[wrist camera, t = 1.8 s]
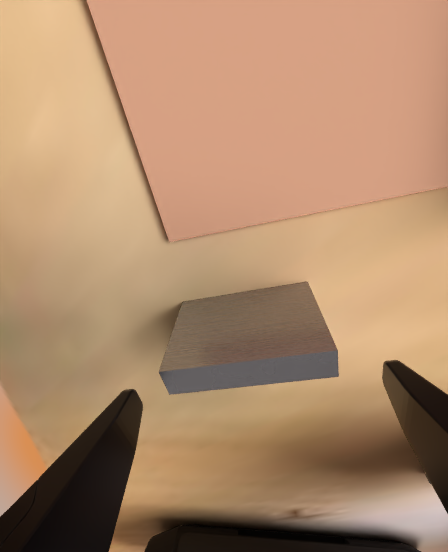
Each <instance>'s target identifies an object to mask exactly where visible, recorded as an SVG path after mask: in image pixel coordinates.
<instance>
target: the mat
mask: <svg viewBox="0 0 448 552" xmlns="http://www.w3.org/2000/svg"><path fill="white" fill-rule="evenodd" d="M87 3H88V6H89V9H90V12H91V15H92V18H93V21H94V24H95V26H96V29H97V32H98V35H99V38H100V41H101V44H102V47H103V50H104V53H105V56H106V59H107V61H108V64H109V67H110V70H111V73H112V76H113V79H114V82H115V85H116V88H117V91H118V94H119V96H120V99H121V102H122V105H123V108H124V111H125V114H126V117H127V120H128V123H129V126H130V129H131V132H132V134H133V137H134V140H135V143H136V146H137V149H138V152H139V155H140V158H141V161H142V164H143V167H144V169H145V172H146V175H147V178H148V181H149V184H150V187H151V190H152V193H153V196H154V199H155V202H156V204H157V207H158V210H159V213H160V216H161V219H162V222H163V225H164V228H165V231H166V234H167V237H168V239H169V242H173V241H178V240H183V239H188V238H193V237H198V236H203V235H208V234H213V233H218V232H223V231H228V230H233V229H238V228H243V227H248V226H253V225H258V224H263V223H268V222H273V221H278V220H283V219H288V218H293V217H298V216H303V215H308V214H313V213H318V212H323V211H328V210H333V209H339V208H344V207H349V206H354V205H359V204H364V203H369V202H374V201H379V200H384V199H389V198H394V197H399V196H404V195H409V194H414V193H419V192H424V191H429V190H434V189H439V188H444V187H448V0H87Z"/></svg>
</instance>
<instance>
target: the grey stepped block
mask: <svg viewBox="0 0 448 552" xmlns="http://www.w3.org/2000/svg"><path fill="white" fill-rule="evenodd" d="M159 374H160V376H161V378H162V380H163V382H164V384H165V386H166V388H167V390H168V392H169V394H180V393H189V392H199V391H208V390H217V389H227V388H236V387H246V386H255V385H265V384H274V383H283V382H293V381H302V380H312V379H321V378H330V377H339V373H338V350H337V348H336V345H335V343H334V341H333V339H332V336H331V334H330V332H329V329H328V327H327V325H326V323H325V320H324V318H323V316H322V313H321V311H320V309H319V307H318V304H317V302H316V300H315V298H314V295H313V293H312V291H311V288H310V286H309V284H308V282H302V283H296V284H290V285H284V286H278V287H271V288H265V289H259V290H253V291H247V292H241V293H234V294H228V295H222V296H216V297H210V298H203V299H197V300H191V301H185V302H182V305H181V308H180V311H179V314H178V317H177V320H176V323H175V326H174V329H173V331H172V334H171V337H170V340H169V343H168V346H167V349H166V352H165V355H164V358H163V361H162V364H161V367H160V370H159Z"/></svg>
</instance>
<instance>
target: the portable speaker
mask: <svg viewBox="0 0 448 552" xmlns="http://www.w3.org/2000/svg"><path fill="white" fill-rule="evenodd" d="M145 552H421V551H419V550H417V549H415V548H413V547H411V546H409V545H407V544H401V543H400V542H394V541H384V540H372V539H360V538H348V537H336V536H324V535H311V534H299V533H287V532H274V531H262V530H249V529H237V528H224V527H211V526H197V525H182V526H178V527H176V528H173V529H171V530H168V531H166V532H163V533H161V534H158V535H155V536H153V537H152V538H151V539H150V541H149V542H148V545H147V547H146V549H145Z"/></svg>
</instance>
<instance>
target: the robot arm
mask: <svg viewBox="0 0 448 552" xmlns="http://www.w3.org/2000/svg"><path fill="white" fill-rule="evenodd" d="M382 379H383V384H384V387H385V389H386V391H387V394H388V396H389V399H390V401H391V403H392V406H393V408H394V411H395V413H396V415H397V418H398V420H399V423H400V425H401V427H402V430H403V432H404V434H405V436H406V438H407V440H408V441H409V443H410V445H411V447H412V449H413V451H414V453H415V454H416V456H417V458H418V460H419V462H420V464H421V465H422V467H423V469H424V471H425V473H426V474H425V475H426V477H427V479H428V481H429V483H430V484H432V486H433V488H434V489H435V491H436V493H437V495H438V497H439V499H440V501H441V502H442V504H443V506H444V508H445V510H446V512H447V513H448V394H446V393H445V392H443V391H442V390H440V389H439V388H437V387H436V386H435V385H433V384H432V383H430V382H429V381H427V380H426V379H424V378H423V377H422V376H420V375H419V374H417V373H416V372H414V371H413V370H412V369H410V368H409V367H407V366H406V365H404V364H403V363H401V362H400V361H398V360H391V361H385V362H384V364H383V376H382ZM142 411H143V404H142V401H141V399H140V397H139V396H138V394H137V392H136V390H134V389H129V390H124V391H122V392H121V393H120V394H119V395H118V396H117V397H116V399H115V400H114V401H113V402H112V403H111V404H110V405H109V406H108V407H107V408H106V409H105V410H104V411H103V412H102V413H101V414H100V415H99V416H98V417H97V418H96V419H95V420H94V421H93V422H92V423H91V424H90V426H89V427H88V428H87V429H86V430H85V431H84V432H83V433H82V434H81V435H80V436H79V437H78V438H77V439H76V440H75V441H74V442H73V443H72V444H71V445H70V446H69V447H68V448H67V449H66V450H65V451H64V452H63V454H62V455H61V456H60V457H59V458H58V459H57V460H56V461H55V462H54V463H53V464H52V465H51V466H50V467H49V468H48V469H47V470H46V471H45V472H44V473H43V474H42V475H41V476H40V478H39V479H38V480H37V481H36V482H35V483H34V484H33V485H32V486H31V487H30V488H29V489H28V490H27V491H26V492H25V493H24V494H23V495H22V496H21V497H20V498H19V499H18V500H17V501H16V502H15V503H14V504H13V505H12V506H11V507H10V508H9V509H8V510H7V511H6V512H5V513H4V514H3V515H2V516H1V517H0V552H109V548H110V545H111V541H112V537H113V533H114V530H115V526H116V522H117V518H118V515H119V511H120V507H121V503H122V500H123V496H124V492H125V489H126V485H127V481H128V477H129V474H130V470H131V466H132V462H133V459H134V455H135V451H136V446H137V440H138V434H139V428H140V422H141V416H142Z"/></svg>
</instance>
